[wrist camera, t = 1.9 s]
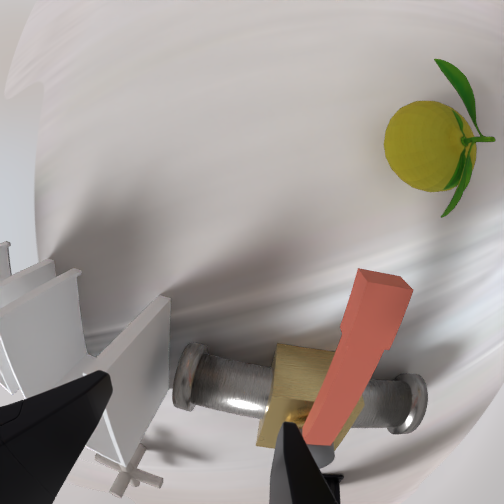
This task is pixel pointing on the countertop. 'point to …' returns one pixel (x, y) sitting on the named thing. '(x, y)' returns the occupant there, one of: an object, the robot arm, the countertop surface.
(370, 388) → the valve body
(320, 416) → the lever
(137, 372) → the storage container
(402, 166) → the lemon
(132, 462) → the pipe connector
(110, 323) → the countertop surface
